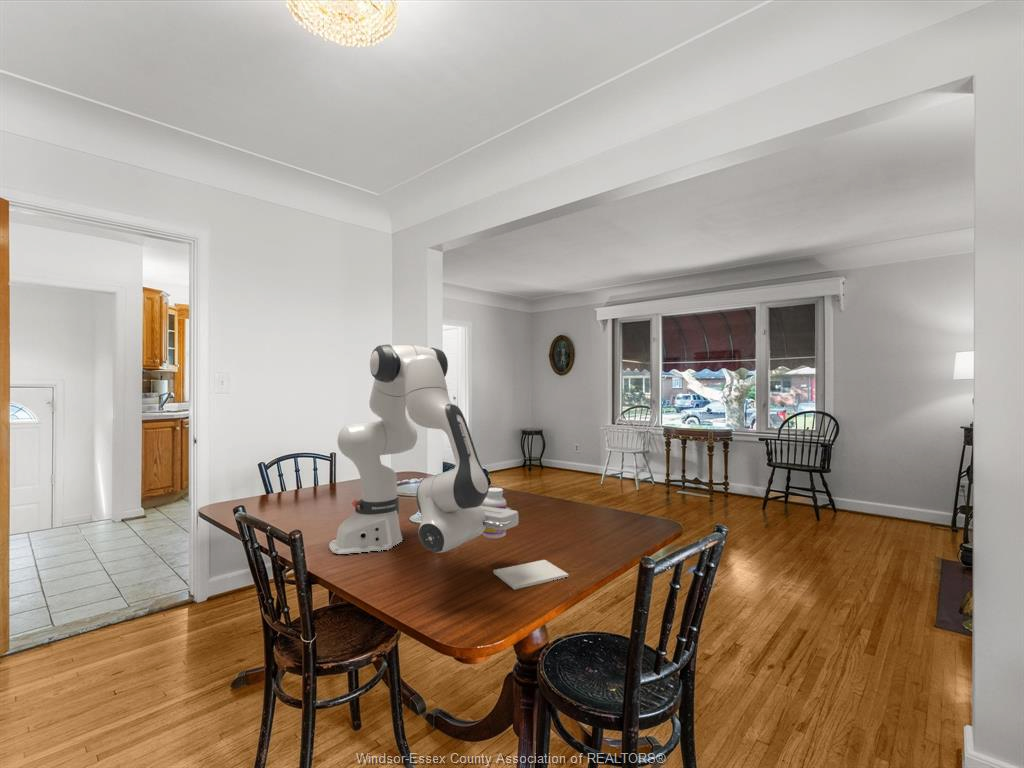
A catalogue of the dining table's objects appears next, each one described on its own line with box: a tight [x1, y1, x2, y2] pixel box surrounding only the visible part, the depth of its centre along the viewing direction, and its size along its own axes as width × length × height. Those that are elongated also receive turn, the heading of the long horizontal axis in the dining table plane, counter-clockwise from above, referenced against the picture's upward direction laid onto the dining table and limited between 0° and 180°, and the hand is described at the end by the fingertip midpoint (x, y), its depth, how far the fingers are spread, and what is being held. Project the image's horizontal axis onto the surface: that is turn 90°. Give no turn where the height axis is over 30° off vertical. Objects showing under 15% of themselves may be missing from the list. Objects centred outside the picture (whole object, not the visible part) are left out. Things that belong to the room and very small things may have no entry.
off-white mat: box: [493, 559, 570, 590], centre depth 130 cm, size 16×12×1 cm
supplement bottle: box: [482, 487, 507, 539], centre depth 138 cm, size 7×7×13 cm
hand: (496, 508), depth 138 cm, fingers closed on supplement bottle, 7 cm apart
